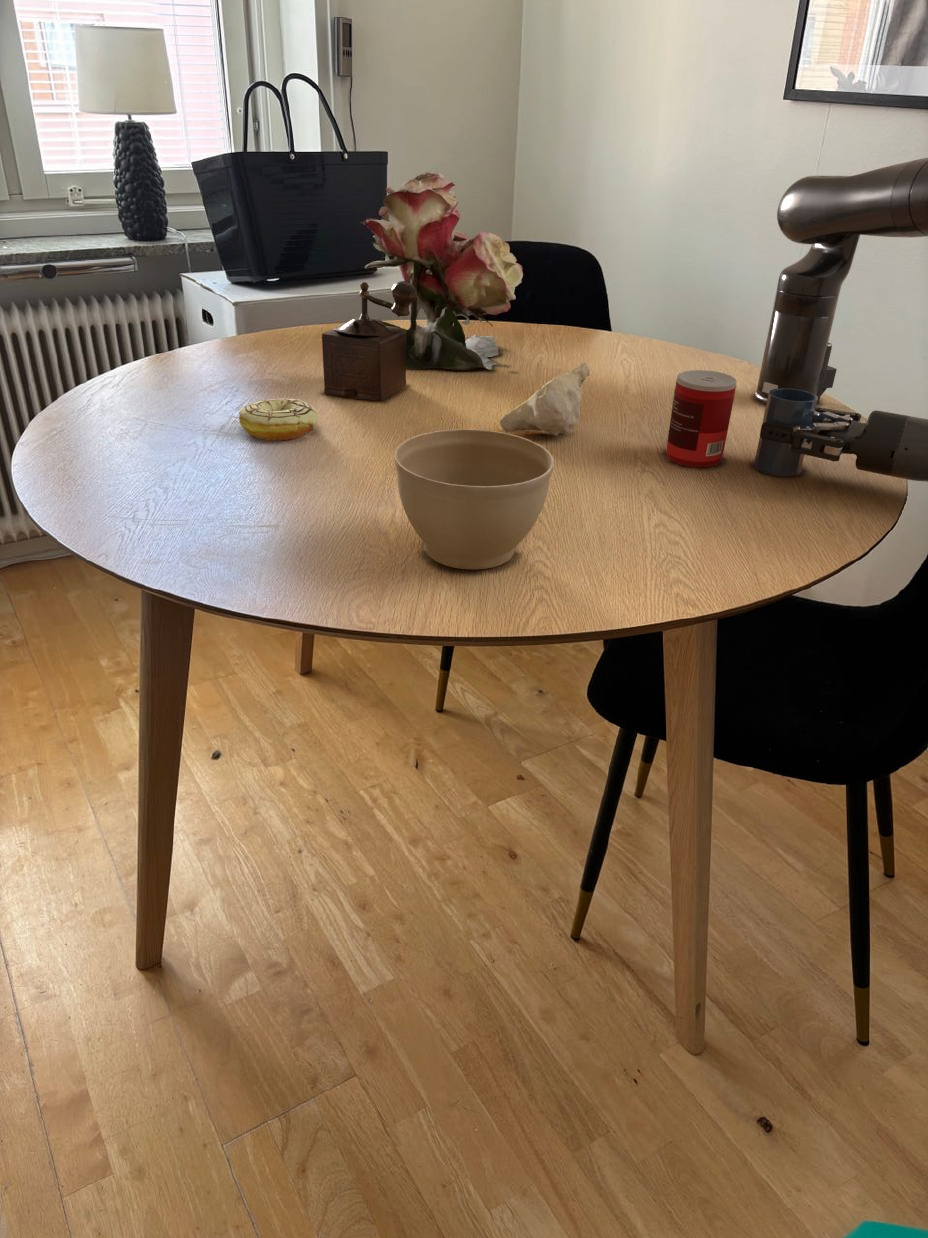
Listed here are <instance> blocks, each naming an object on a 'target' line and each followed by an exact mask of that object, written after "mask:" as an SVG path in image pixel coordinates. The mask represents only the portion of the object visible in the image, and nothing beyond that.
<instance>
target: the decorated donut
mask: <svg viewBox="0 0 928 1238" xmlns="http://www.w3.org/2000/svg"><path fill="white" fill-rule="evenodd" d="M238 414H239V416H238V420H239V424H240V425H241V427H242V428H243V430H244V431H245V432H246V433H247V434H248V435H250V436H251V437H254V438H256V439H260V440H265V441H270V442H271V441H278V440H279V441H280V440H282V441H286V440H292V439H293V440H294V439H298V438H300V437H302V436H305V435H307V434H308V433H310V432H312V431H313V429H314V428H316V427H317V425H318V424H319V413H318V411H317V408H315V406H313V405H312V404H310V403H309V402H306V401H304V400H301V399H299V398H269V399H261V400H256V401H252V402H250V403H248V404H245V405H244V406H243V407H241V408H240V410H239V412H238Z"/></svg>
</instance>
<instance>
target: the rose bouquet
mask: <svg viewBox="0 0 928 1238" xmlns="http://www.w3.org/2000/svg"><path fill="white" fill-rule="evenodd" d="M454 186H456V184H455V183H454V182H453V181H451V180H448V179H446V178H445V175H444V174H442V173H441V172H439V173H438V172H437V173H434V172H432V171H425V172H423V173H421V174H419V175H416V176H415V177H414V178H412V179H408V180H406V181H405V182H403V183H401V188H399V189H398V190H397V191H396V190H394V189H392V188H391V186H388V187H385V191H386V193H387V195H386V196H385V198H384V199H383V206H381V207H380V209H379V211H378V216H381V219H377V218H366V219H365V220H363V221H361V222H360V224H363V225H365V226H366V228H368V229H369V230H370V231H371V233H373V234H374V235H373V236H372V238H374V240H375V241H374V242H373V241H371V244H372V245H373V247H374V248H375V249H376V250H377V251H378V252H382V253H384V255H386V257H387V258H388V260H376V261H371V262H370V263H368V264H366V265H365V266H364V269H371V268H376V267H377V268H396V267H397V269H398V270H399V273H400V275H401V278H402V281H406V282H409V283H411V284H412V285H413V286H414V287H415V288H416V291H417V296H416V299H415V300H414V301H413V302H412V303H411V304H410V305H409V312H410V314H409V315H410V316H409V321H410V324H409V327H408V328H407V329H406V369H413V370H426V369H434V368H435V369H436V368H439V369H445V370H455V371H467V370H468V371H470V370H476V369H481V368H482V369H486V370H489V371H492V370H493V368H492V367H493V366H498V363H496V362H494V361H492V360H491V359H490V358H491V357H495V356H499V349H498V345H497V343H496V340H495V337H494V336H491V335H485V336H483V335H478V334H476V333H475V334H474V335H472V336H470V337H466V334H465V331H464V327H463V326H462V325H465V326H468V325H470V324H471V320H470V318H469V317H470V316H474V317H475V318H476V319H478V321H479V322H480V323H481V322H486V323H488V324H489V325H490V326H491V327H494V325H493V324H492V323H490V321H489V320H487V319H486V318H485V317H484V316H487V315H492V316H497V315H499V314H501V313H506V312H509V310H511V302H510V301H512V300H513V301H514V300H516V295H515V289H516V287H518V286H519V285H520V284H521V283H523V281H522V280H523V277H524V272H523V266H522V265H521V264H520V263H517V261H518V260H517V257H515V255H514V254H513V253H512V252H510V250H511V247H510V245H509V243H507V242H506V241H504V239H502V238H501V236H500V235H498V234H497V233H493V232H489V231H486V230H481V231H477V232H476V234H474V235H473V236H471V237H470V236H468V235H467V233H464V232H462V231H458V230H455V228H456V226H457V224H458V223H459V221H460V218H461V214H460V212H459V210H457V209H456V208H457V206H458V204H459V201H458V200H457V199H456V192H455V191H452V188H453V187H454ZM446 309H447V310H446ZM421 310H422V312H423V314H424V315H425V316H426V321H425V325H419V324H418V323H417V318H418V315H419V313H420V311H421ZM443 310H446V311H445V312H444V314H443V315H442V313H443ZM460 316H462V317H464V318H465V319H466V320H464V321H461V323H462V324H461V323H460V321H459V320H458V318H457V317H460ZM372 319H376V320H378V321H379V322H381V323H383V324H384V325H385V326H390V327H397V328H401V327H400V326H398V325H396V324H393V323H390V322H387V321H383V320H382V319H380V318H377V317H375V316H374V317H372ZM503 366H504V367H505V366H506V365H504V364H503V365H502V364H499V367H503Z"/></svg>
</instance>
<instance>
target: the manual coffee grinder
mask: <svg viewBox="0 0 928 1238" xmlns="http://www.w3.org/2000/svg"><path fill="white" fill-rule="evenodd" d="M359 286H360V291H359V297H360V298H361V314H360V317H356V318H352V319H351V320H349V321H348V322H346V323H343V324H341V325H339V326H336V327H334V328H331V329H329V330H326V331H325V332H322V334H321V345H322V346H321V347H322V367H323V384H324V389H323V394H325V395H329V396H330V395H331V396H336V397H343V398H349V399H359V400H360V399H361V400H369V401H381V402H382V401H384V400H387V399H390V398H391V397H393V396H394V395H396V394H398V393H399V392H401V391H402V390H403V389H404V388H405V387H406V386H407V368H406V330H407V329H406V328H403V327H400V328H397V327H390V326H385V325H384V324H383V323H381V322H379V321H378V320H376V319H373V317H372V318H371V317H370V316H369V314H368V313H369V312H368V302H370V303H373V304H374V305H377V306H380V307H384V308H387V309H390V310H391V313H393V314H394V315H396V316H397V318H400V317H408V316H409V315H410V304H411V303H412V302H413V301H414V300H415V299H416V296H417V291H416V288H415V287H414V286H413V285H412V284H411V283H409V282H406V281H404V280H401V281H397V282H395V283H394V284H393V285H392V287H391V295H392V297H393V301H394V303H392V302H389V301H386V300H383V299H380V298H377V297H374V296H372V295H370V292H369V291H368V290H369V287H370V286H369V284H368V282H366V281H362V282H361V283H360V285H359Z"/></svg>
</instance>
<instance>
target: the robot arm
mask: <svg viewBox="0 0 928 1238" xmlns="http://www.w3.org/2000/svg"><path fill="white" fill-rule="evenodd" d="M776 219H777V224H778V227H779V230H780V231H781V233H782V234H783V236H784V237H785V238H787V240H789V241H791V242H793V243H796V244H799V245H810V247H809V249H808V252H807V253H806V254H805V255H804V256H803V257H802V258H800V259H799V260H798V261H796V262H794V263H792V264H790V265H788V266H786V267H784V268H783V269H782V270H781V271H780V273H779V276H778V281H777V286H776V291H775V295H774V301H773V306H772V311H771V317H770V322H769V326H768V331H767V337H766V341H765V345H764V352H763V357H762V362H761V367H760V371H759V375H758V376H759V377H758V383H757V387H756V390H755V394H754V398H755V400H756V401H758V402H759V403H762V404H765V405H766V404H767V399H768V394H769V391H770V390H773V389H777V388H792V389H799V390H804V391H808V392H810V393H813V394H815V395H816V396H817V397H818V399H817V404H820V402H821V401H820V400H821V396H822V395H823V394H824V393H825V392H826V391H827V389H832V388H833V387H834V382H835V379H836V375H837V368H836V367H833V366H830V365H829V363H830V359H831V358H830V357H831V354H832V349H833V345H832V343H831V342H829V341H830V336H831V331H832V328H833V324H834V319H835V315H836V311H837V306H838V302H839V297H840V293H841V289H842V285H843V283H844V282H845V280H846V278H847V277H848V276H849V273H850V271H851V268H852V265H853V262H854V257H855V254H856V251H857V248H858V244H859V240H860V237H861V236H869V237H870V236H871V237H880V238H881V237H883V238H925V237H926V238H928V157H925V158H918V159H914V160H909V161H905V162H901V163H897V164H892V165H888V166H884V167H880V168H876V169H872V170H869V171H865V172H862V173H858V174H853V175H809V176H805V177H802V178H799V179H798V180H796V181H795V182H793V183H791V185H790V186H789V187H788V188H787V189H786V191H784V193H783V194H782V196H781V199H780V200H779V202H778V206H777V211H776ZM861 419H862V414H861V413H858V412H851V411H846V410H838V409H833V408H832V409H831V408H825V407H820V406H816V408H815V412H814V416H813V421H812V424H811V425H810V426H793V425H787V424H782V423H777V422H771V421H765V422H764V423H763V422H762V423H763V424H762V423H761V427H760V432H759V438H760V437H761V438H762V439H766V440H772V441H777V442H782V443H787V444H788V443H789V446H790V447H791V450H790V451H792V452H794V453H800V454H804V456H808V457H813V458H818V459H822V460H827V461H832V462H839V461H840V459H841V455H854V456H856V458H855V463H854V464H855V465H854V466H855V468H856V469H857V470H859V471H863V472H868V473H872V474H879V475H884V476H886V477H887V476H888V477H892V478H893V477H894V478H898V479H903V480H909V481H914V482H925V483H926V482H928V418H925V417H924V418H923V417H917V416H910V415H907V414H906V415H905V414H900V413H894V412H889V411H882V410H876V409H875V410H872V411H871V412H870V414H869V415H868V417H867V420H866V423H865V422H861ZM803 439H807V441H803Z"/></svg>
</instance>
